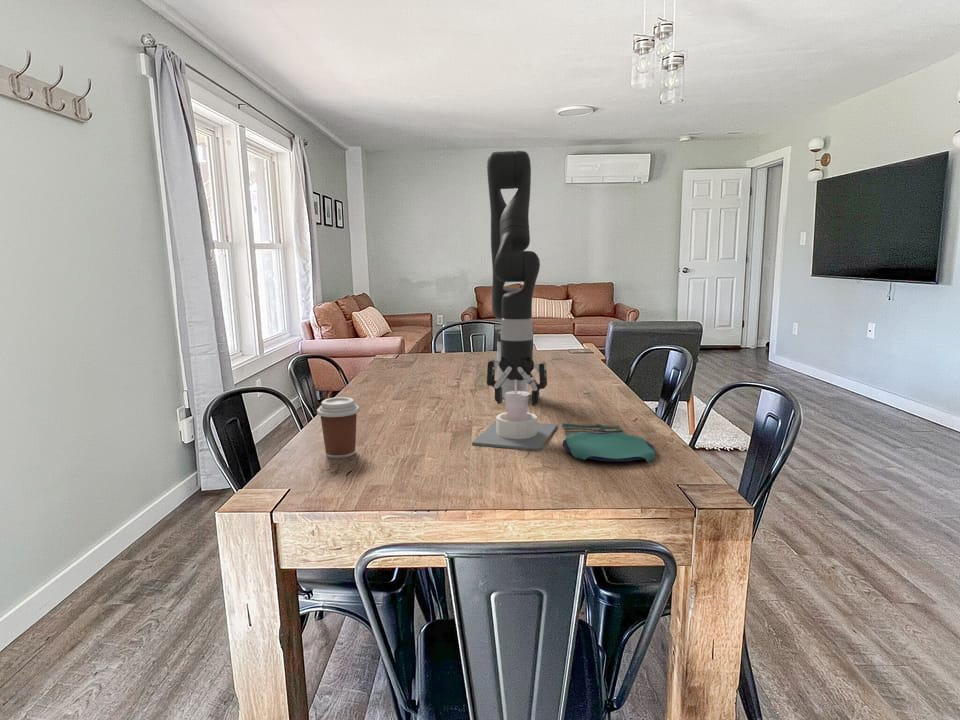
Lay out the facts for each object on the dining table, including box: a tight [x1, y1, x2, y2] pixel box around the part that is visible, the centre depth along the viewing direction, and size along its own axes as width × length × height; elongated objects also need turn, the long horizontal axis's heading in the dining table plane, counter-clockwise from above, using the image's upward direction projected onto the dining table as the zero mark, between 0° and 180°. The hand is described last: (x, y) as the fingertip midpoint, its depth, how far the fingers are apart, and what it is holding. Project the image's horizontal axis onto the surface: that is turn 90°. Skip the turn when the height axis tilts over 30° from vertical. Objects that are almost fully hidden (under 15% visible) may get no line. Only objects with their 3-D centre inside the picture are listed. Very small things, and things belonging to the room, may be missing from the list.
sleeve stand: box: [471, 411, 558, 452], centre depth 140 cm, size 20×16×5 cm
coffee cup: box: [316, 396, 360, 459], centre depth 128 cm, size 9×9×12 cm
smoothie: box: [503, 379, 531, 422], centre depth 139 cm, size 6×6×14 cm
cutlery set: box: [561, 422, 656, 464], centre depth 133 cm, size 20×30×2 cm, turn 178°
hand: (516, 404), depth 139 cm, fingers open, 8 cm apart
